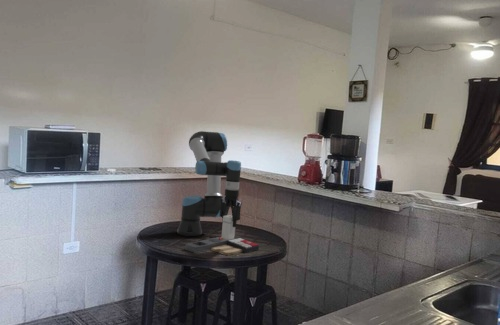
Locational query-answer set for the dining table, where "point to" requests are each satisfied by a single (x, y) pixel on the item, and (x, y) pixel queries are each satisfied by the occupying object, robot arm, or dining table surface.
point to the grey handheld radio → (205, 244)
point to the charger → (227, 228)
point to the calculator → (243, 245)
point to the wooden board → (226, 250)
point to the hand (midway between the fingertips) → (228, 231)
